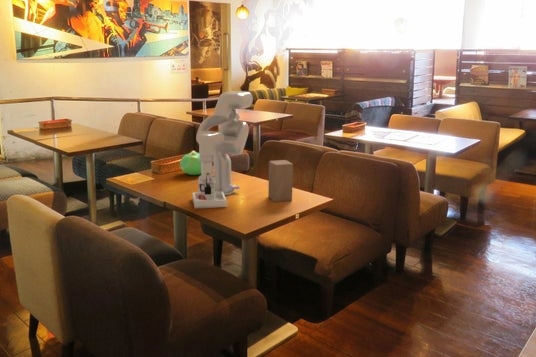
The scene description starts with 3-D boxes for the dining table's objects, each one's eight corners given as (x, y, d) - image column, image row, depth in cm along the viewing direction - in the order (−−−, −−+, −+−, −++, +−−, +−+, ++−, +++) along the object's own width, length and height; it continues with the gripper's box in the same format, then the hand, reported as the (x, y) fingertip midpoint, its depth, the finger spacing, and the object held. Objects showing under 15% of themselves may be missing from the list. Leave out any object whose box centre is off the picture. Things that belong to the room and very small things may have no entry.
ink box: (198, 200, 256) (197, 177, 253) (199, 197, 261) (199, 175, 258) (215, 200, 256) (214, 178, 253) (216, 197, 261) (215, 175, 258)
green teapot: (200, 169, 327) (200, 147, 324) (214, 175, 315) (214, 152, 311) (176, 173, 316) (175, 150, 313) (189, 179, 304) (189, 155, 300)
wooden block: (268, 196, 272) (268, 160, 267) (285, 195, 275) (286, 159, 270) (274, 202, 263) (275, 164, 258) (292, 200, 266) (293, 163, 261)
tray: (222, 197, 269) (222, 191, 268) (226, 206, 254) (226, 200, 253) (192, 199, 265) (192, 192, 265) (194, 208, 250) (194, 201, 249)
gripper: (198, 154, 261) (198, 188, 265) (200, 162, 244) (201, 197, 249) (212, 154, 262) (212, 187, 267) (216, 161, 246) (216, 197, 251)
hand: (207, 192), depth 258 cm, fingers closed on ink box, 5 cm apart
